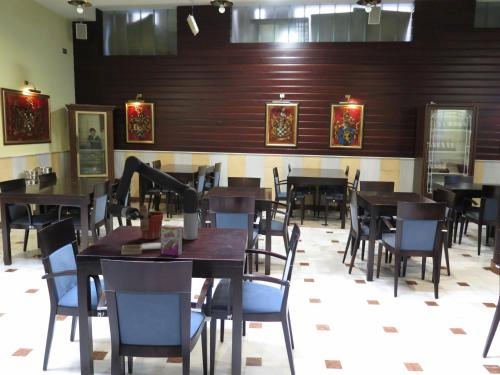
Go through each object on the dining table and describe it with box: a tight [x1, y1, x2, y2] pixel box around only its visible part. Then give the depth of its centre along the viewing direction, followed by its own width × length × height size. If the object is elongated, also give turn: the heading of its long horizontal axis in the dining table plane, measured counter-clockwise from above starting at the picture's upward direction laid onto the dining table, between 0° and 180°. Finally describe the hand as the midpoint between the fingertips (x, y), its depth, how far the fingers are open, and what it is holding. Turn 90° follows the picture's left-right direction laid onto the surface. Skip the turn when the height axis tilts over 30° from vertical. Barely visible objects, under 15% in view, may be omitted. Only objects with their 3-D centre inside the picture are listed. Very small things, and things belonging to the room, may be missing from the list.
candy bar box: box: [160, 224, 183, 257], centre depth 239 cm, size 11×5×16 cm, turn 74°
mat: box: [140, 242, 161, 250], centre depth 256 cm, size 12×12×1 cm
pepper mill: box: [139, 204, 149, 231], centre depth 249 cm, size 5×5×15 cm
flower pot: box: [140, 211, 165, 241], centre depth 277 cm, size 16×16×16 cm
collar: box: [120, 244, 143, 256], centre depth 244 cm, size 11×11×2 cm
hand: (146, 216), depth 247 cm, fingers closed on pepper mill, 4 cm apart
